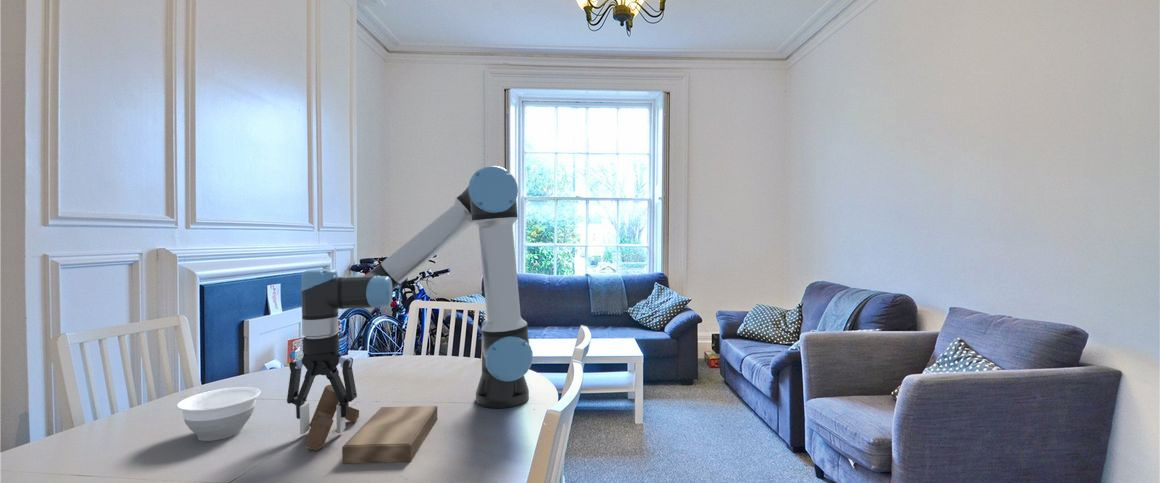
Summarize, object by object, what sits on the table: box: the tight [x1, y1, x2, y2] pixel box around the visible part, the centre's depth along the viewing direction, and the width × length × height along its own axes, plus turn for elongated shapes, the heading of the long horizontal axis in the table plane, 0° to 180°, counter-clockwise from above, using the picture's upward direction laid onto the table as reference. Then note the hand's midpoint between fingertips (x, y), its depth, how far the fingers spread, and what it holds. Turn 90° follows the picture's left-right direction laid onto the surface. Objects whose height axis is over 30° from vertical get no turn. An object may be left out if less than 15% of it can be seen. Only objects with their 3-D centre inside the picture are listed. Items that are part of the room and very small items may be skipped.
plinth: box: [341, 405, 438, 464], centre depth 108 cm, size 14×22×4 cm, turn 3°
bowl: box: [176, 386, 262, 442], centre depth 112 cm, size 16×16×9 cm
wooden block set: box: [304, 384, 360, 451], centre depth 110 cm, size 18×9×10 cm, turn 4°
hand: (323, 431), depth 110 cm, fingers closed on wooden block set, 8 cm apart
